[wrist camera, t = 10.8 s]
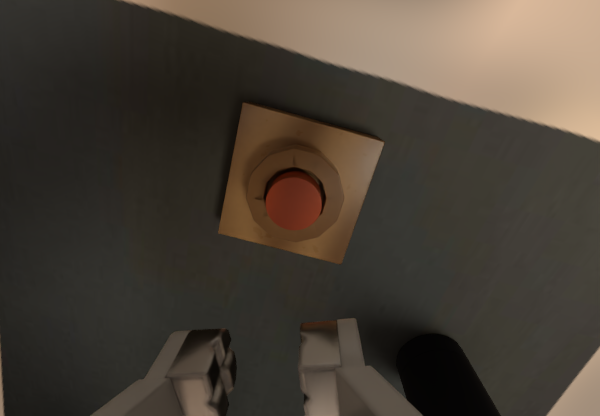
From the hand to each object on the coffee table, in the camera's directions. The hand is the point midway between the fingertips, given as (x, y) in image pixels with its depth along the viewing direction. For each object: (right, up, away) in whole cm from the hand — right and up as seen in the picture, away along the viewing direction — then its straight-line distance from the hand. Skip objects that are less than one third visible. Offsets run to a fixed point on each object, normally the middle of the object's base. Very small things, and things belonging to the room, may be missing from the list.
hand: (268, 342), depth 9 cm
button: (+1, +5, +13) cm, 13 cm away
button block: (+1, +6, +16) cm, 17 cm away
